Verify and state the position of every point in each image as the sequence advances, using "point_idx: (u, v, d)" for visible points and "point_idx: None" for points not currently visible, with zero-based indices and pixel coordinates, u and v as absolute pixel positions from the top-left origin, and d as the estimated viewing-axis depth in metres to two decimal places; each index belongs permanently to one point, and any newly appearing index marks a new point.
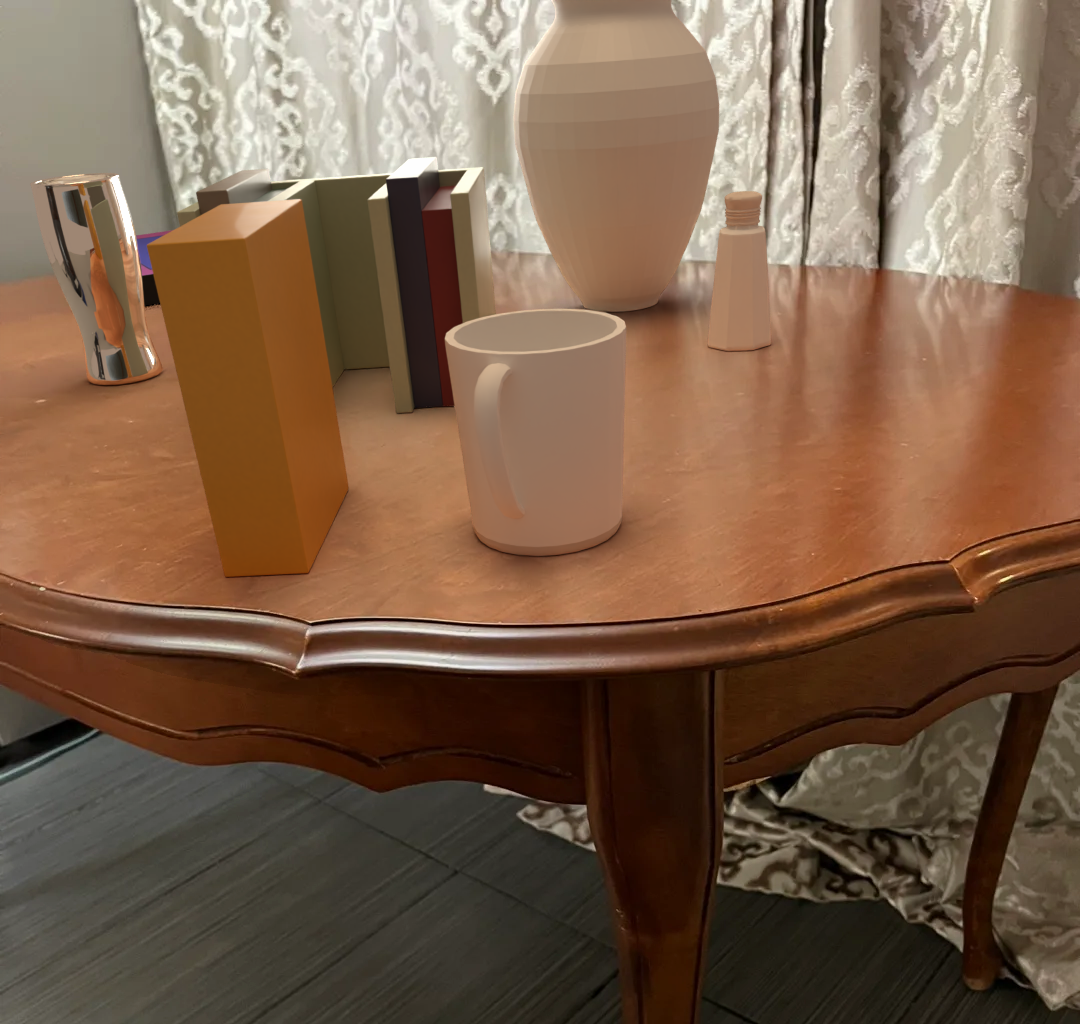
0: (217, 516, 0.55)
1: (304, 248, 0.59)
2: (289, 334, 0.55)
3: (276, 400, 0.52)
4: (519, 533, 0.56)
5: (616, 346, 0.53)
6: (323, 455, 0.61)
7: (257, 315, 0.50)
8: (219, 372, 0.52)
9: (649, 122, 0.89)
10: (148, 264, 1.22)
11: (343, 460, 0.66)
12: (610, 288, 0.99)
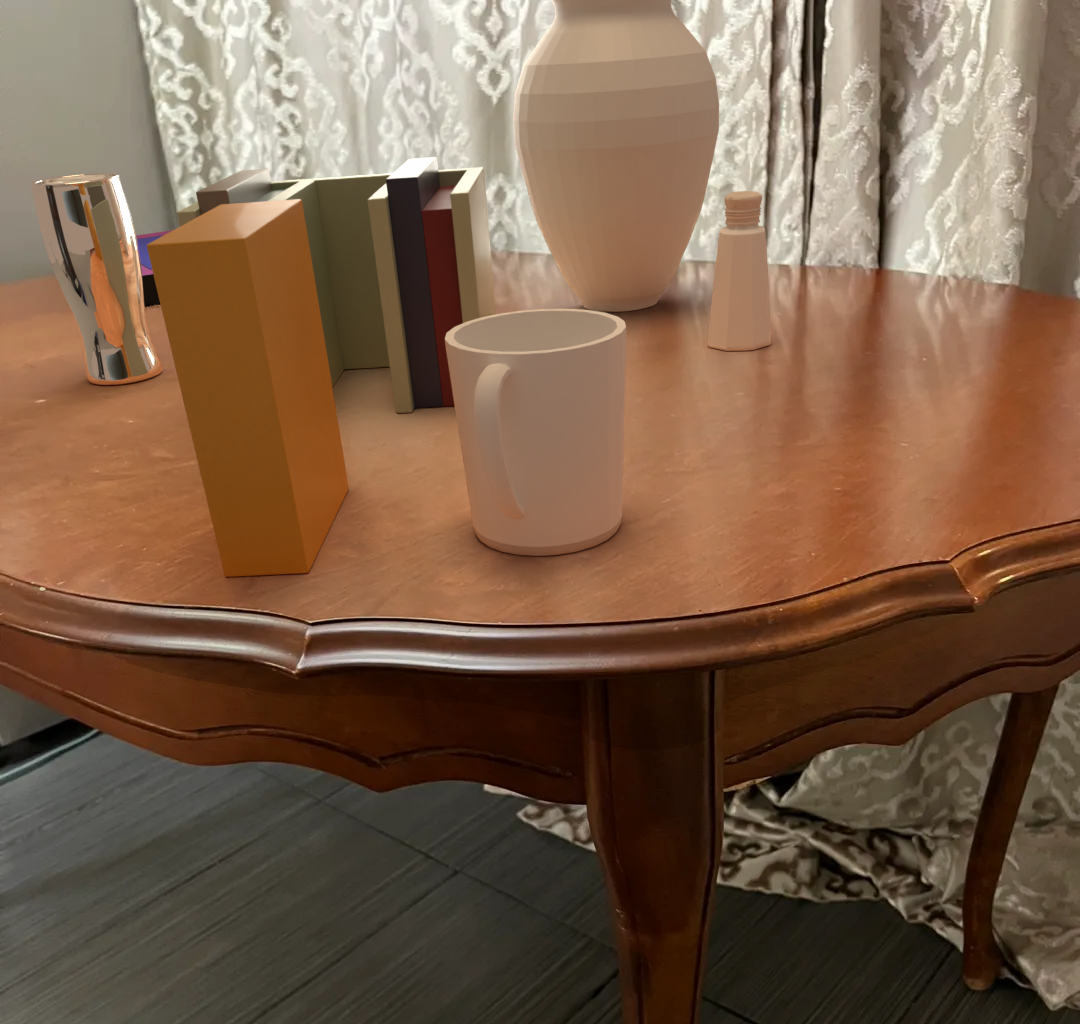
0: (217, 516, 0.55)
1: (304, 248, 0.59)
2: (289, 334, 0.55)
3: (276, 400, 0.52)
4: (519, 533, 0.56)
5: (616, 346, 0.53)
6: (323, 455, 0.61)
7: (257, 315, 0.50)
8: (219, 372, 0.52)
9: (649, 122, 0.89)
10: (148, 264, 1.22)
11: (343, 460, 0.66)
12: (610, 288, 0.99)
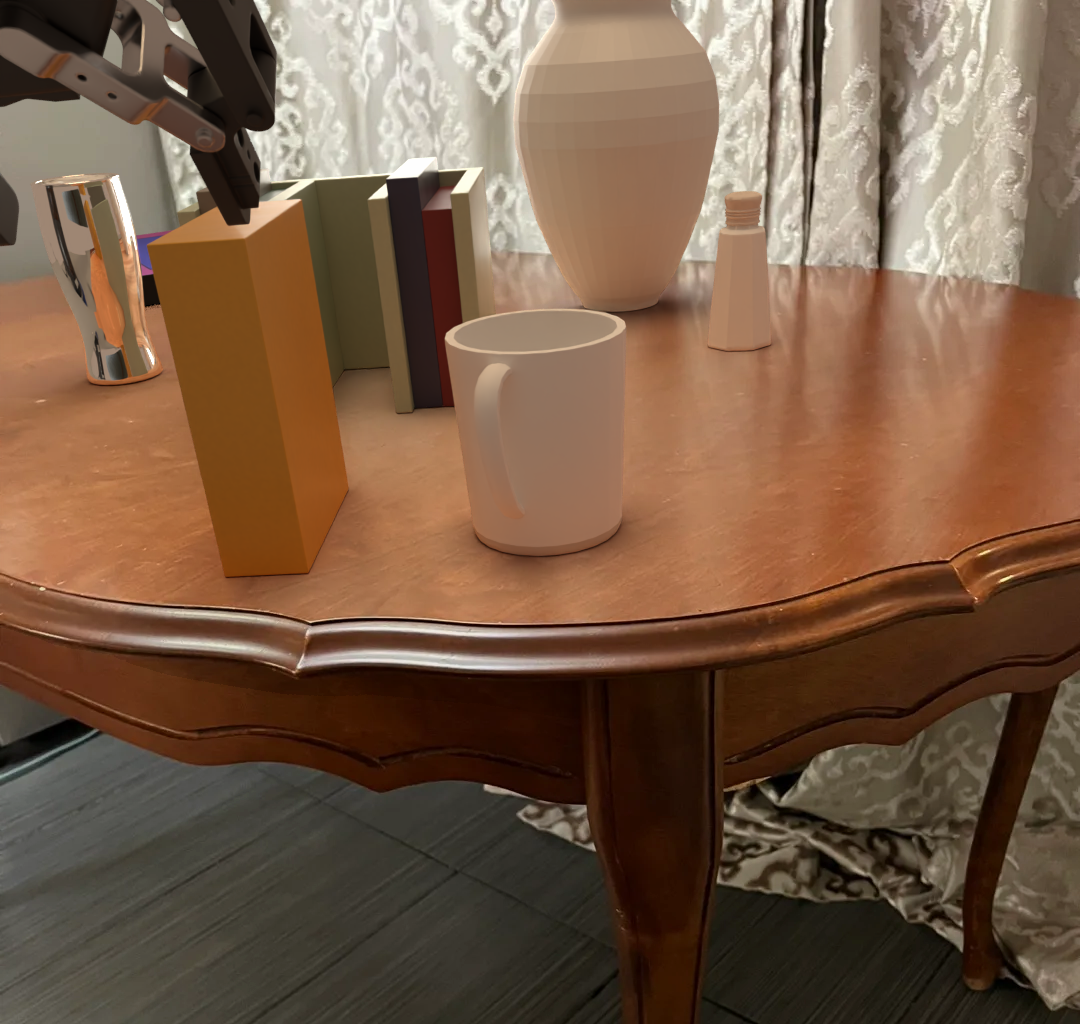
0: (217, 516, 0.55)
1: (304, 248, 0.59)
2: (289, 334, 0.55)
3: (276, 400, 0.52)
4: (519, 533, 0.56)
5: (616, 346, 0.53)
6: (323, 455, 0.61)
7: (257, 315, 0.50)
8: (219, 372, 0.52)
9: (649, 122, 0.89)
10: (148, 264, 1.22)
11: (343, 460, 0.66)
12: (610, 288, 0.99)
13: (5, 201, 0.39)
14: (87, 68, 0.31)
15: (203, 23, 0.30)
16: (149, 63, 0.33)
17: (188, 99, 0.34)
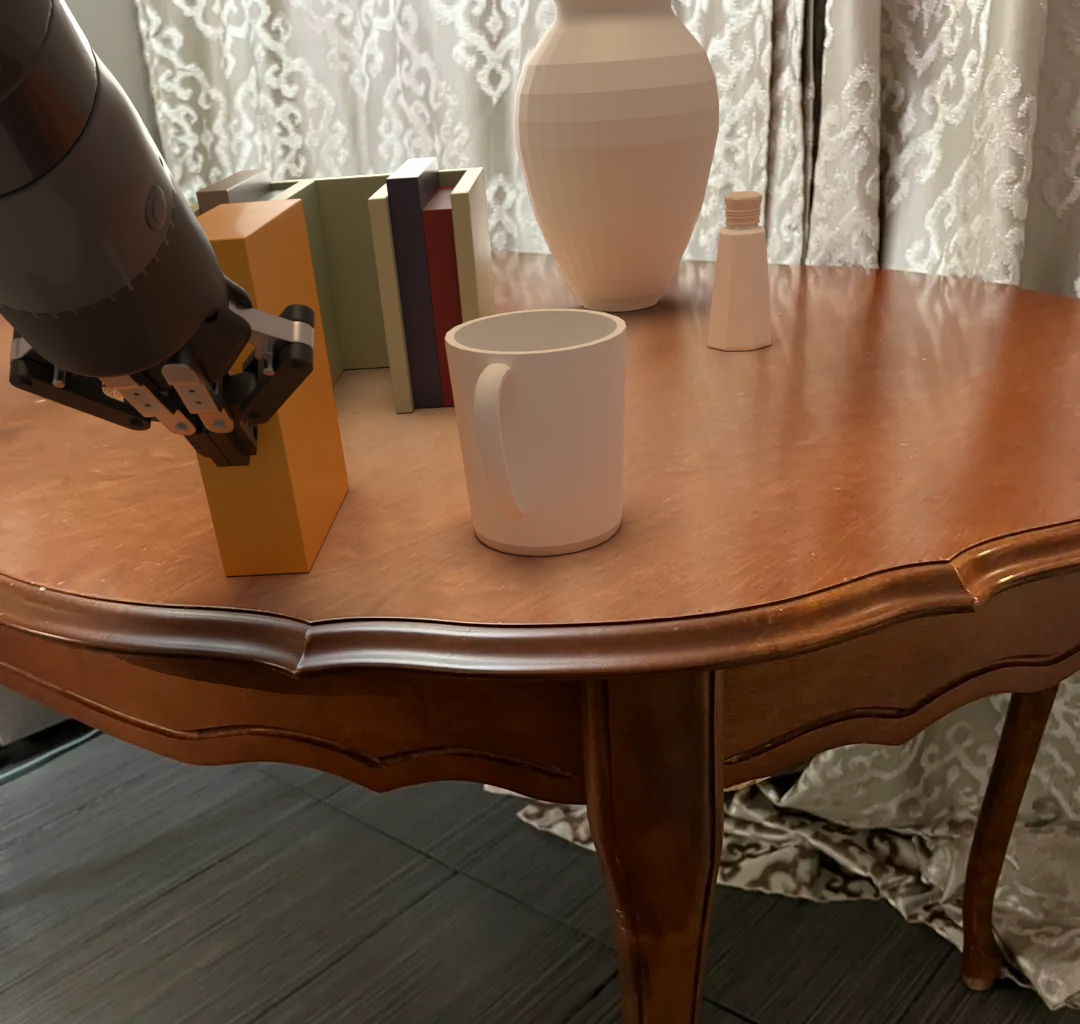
0: (217, 515, 0.56)
1: (304, 248, 0.59)
2: None
3: None
4: (519, 533, 0.56)
5: (616, 346, 0.53)
6: (323, 454, 0.61)
7: None
8: None
9: (649, 122, 0.89)
10: None
11: (343, 459, 0.66)
12: (610, 288, 0.99)
13: None
14: (202, 390, 0.45)
15: (282, 382, 0.45)
16: (219, 383, 0.46)
17: None
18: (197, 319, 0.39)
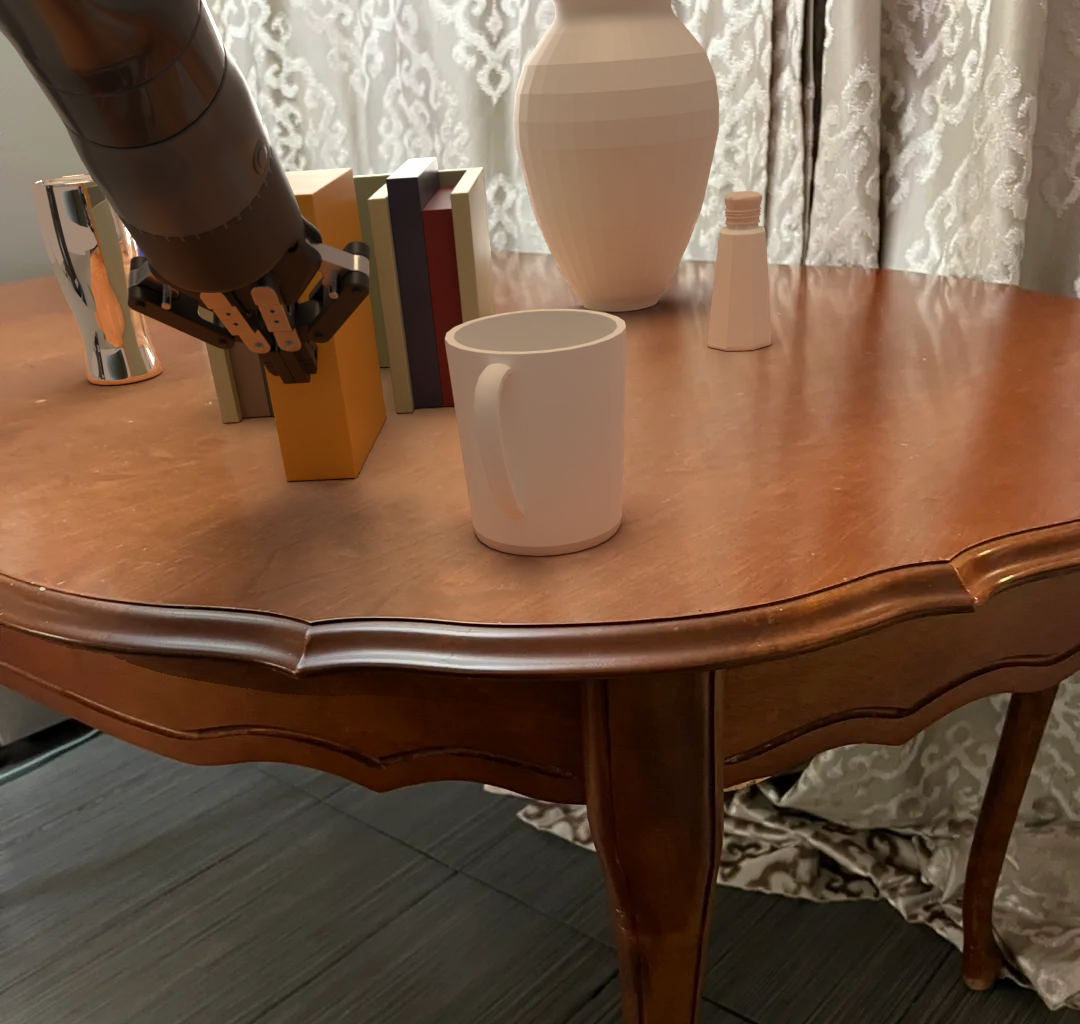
0: (282, 428, 0.67)
1: (354, 208, 0.70)
2: None
3: None
4: (519, 533, 0.56)
5: (616, 346, 0.53)
6: (367, 384, 0.73)
7: None
8: None
9: (649, 122, 0.89)
10: None
11: (382, 393, 0.77)
12: (610, 288, 0.99)
13: None
14: (280, 310, 0.56)
15: (343, 304, 0.56)
16: (292, 308, 0.58)
17: None
18: (283, 247, 0.51)
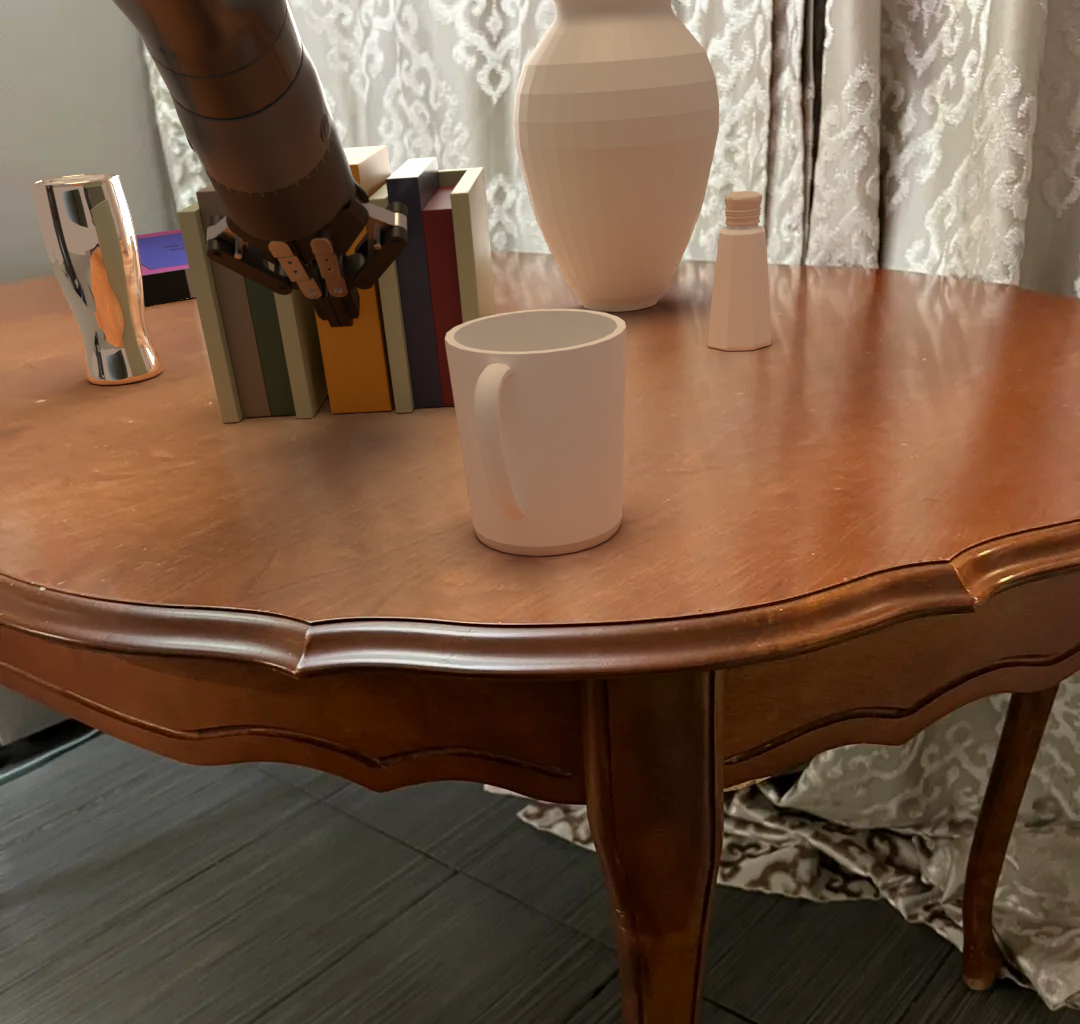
0: (328, 367, 0.79)
1: None
2: None
3: None
4: (519, 533, 0.56)
5: (616, 346, 0.53)
6: None
7: None
8: None
9: (649, 122, 0.89)
10: (148, 264, 1.22)
11: None
12: (610, 288, 0.99)
13: None
14: (333, 259, 0.68)
15: (385, 254, 0.68)
16: (341, 258, 0.69)
17: None
18: (340, 204, 0.62)
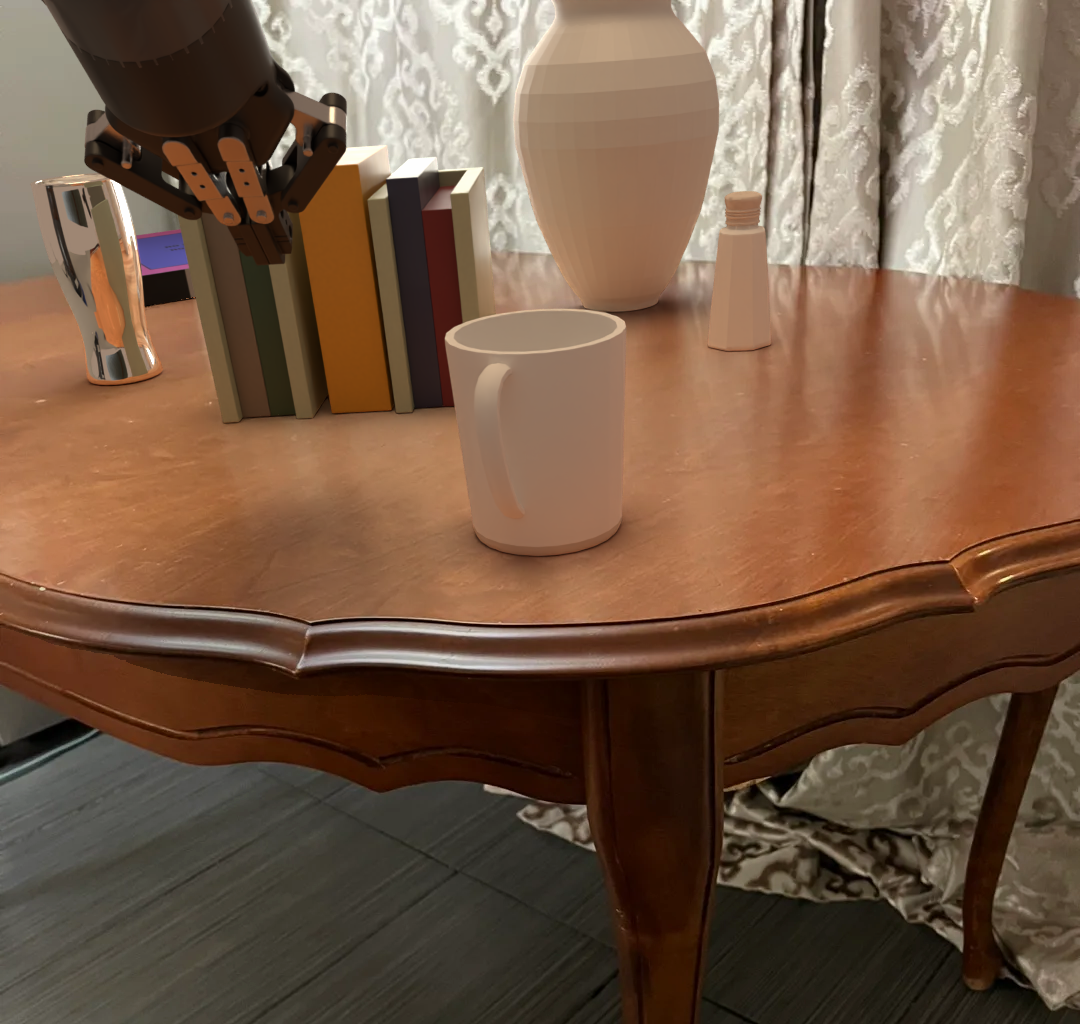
0: (328, 367, 0.79)
1: None
2: None
3: (374, 280, 0.76)
4: (519, 533, 0.56)
5: (616, 346, 0.53)
6: None
7: (364, 218, 0.73)
8: (335, 260, 0.75)
9: (649, 122, 0.89)
10: (148, 264, 1.22)
11: None
12: (610, 288, 0.99)
13: None
14: (250, 169, 0.52)
15: (319, 164, 0.52)
16: (263, 171, 0.54)
17: None
18: (252, 86, 0.47)
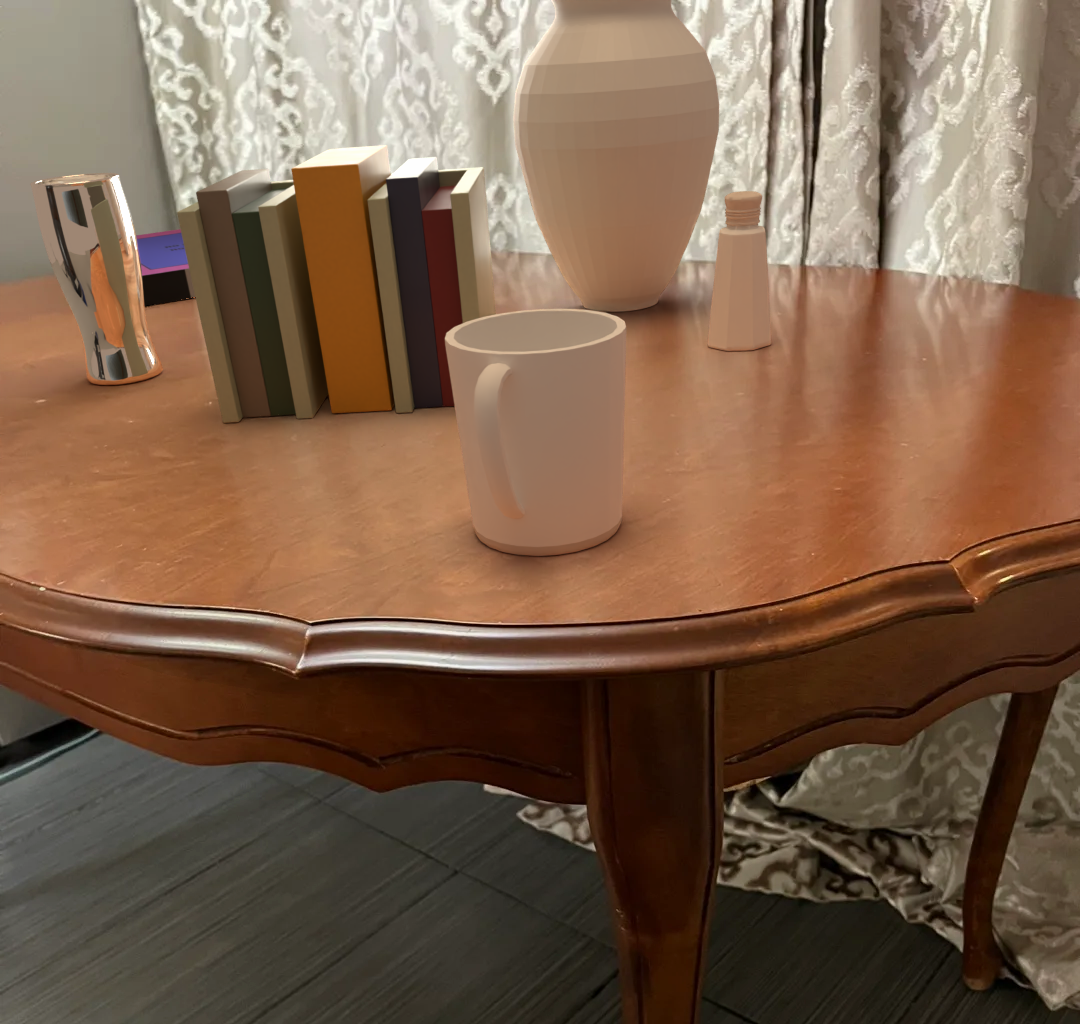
0: (328, 367, 0.79)
1: None
2: None
3: (374, 280, 0.76)
4: (519, 533, 0.56)
5: (616, 346, 0.53)
6: None
7: (364, 218, 0.73)
8: (335, 260, 0.75)
9: (649, 122, 0.89)
10: (148, 264, 1.22)
11: None
12: (610, 288, 0.99)
13: None
14: None
15: None
16: None
17: None
18: None
